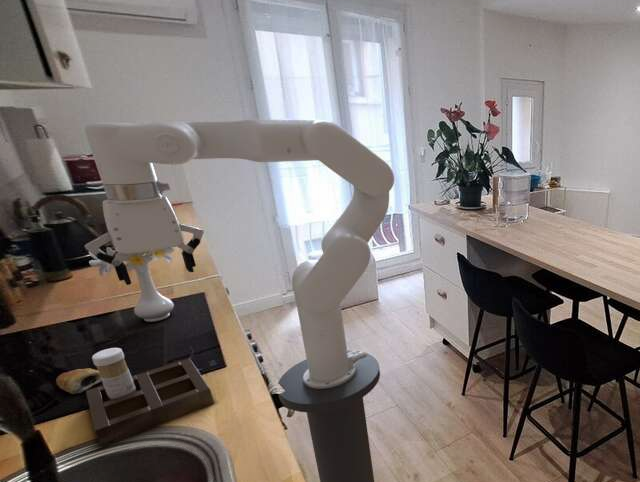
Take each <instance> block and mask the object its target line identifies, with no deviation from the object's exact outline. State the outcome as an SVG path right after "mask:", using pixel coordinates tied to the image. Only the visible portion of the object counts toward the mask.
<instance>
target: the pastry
mask: <svg viewBox="0 0 640 482" xmlns="http://www.w3.org/2000/svg"><path fill="white" fill-rule="evenodd" d="M55 382H56V385H57V386H58V388H59V389H61V390H62V391H65V392H67V393H69V394H72V395H75V394H81V393H83V392H86V391H87V390H90V389H92V387H94V386H96V385H98V384H100V383H102V380H101V377H100V374H99V371H98V369H94V368H91V367H87V368H77V369H73V370H70V371H67V372H62V373H61V374H59V375H58V376H57V377H56V379H55Z"/></svg>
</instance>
